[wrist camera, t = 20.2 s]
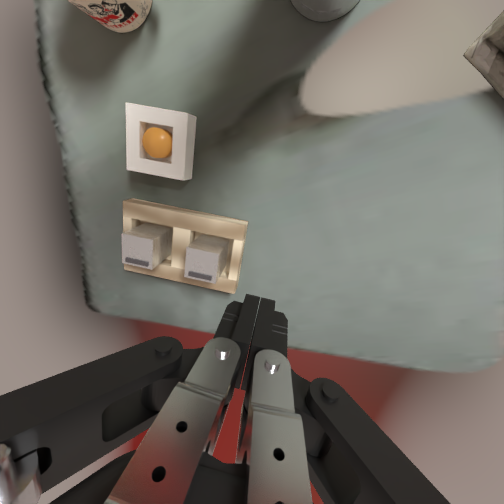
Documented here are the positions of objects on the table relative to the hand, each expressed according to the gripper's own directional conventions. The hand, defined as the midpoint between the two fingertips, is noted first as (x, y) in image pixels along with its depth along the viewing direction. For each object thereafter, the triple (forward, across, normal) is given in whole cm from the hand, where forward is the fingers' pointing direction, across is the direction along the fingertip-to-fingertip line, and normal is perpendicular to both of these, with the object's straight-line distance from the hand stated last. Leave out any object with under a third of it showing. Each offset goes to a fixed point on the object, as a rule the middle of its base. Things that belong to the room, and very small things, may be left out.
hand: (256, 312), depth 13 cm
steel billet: (+25, +17, +8) cm, 31 cm away
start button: (+24, +17, -6) cm, 30 cm away
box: (+25, +17, -6) cm, 31 cm away
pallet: (+25, +13, +8) cm, 29 cm away
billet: (+25, +8, +8) cm, 27 cm away
